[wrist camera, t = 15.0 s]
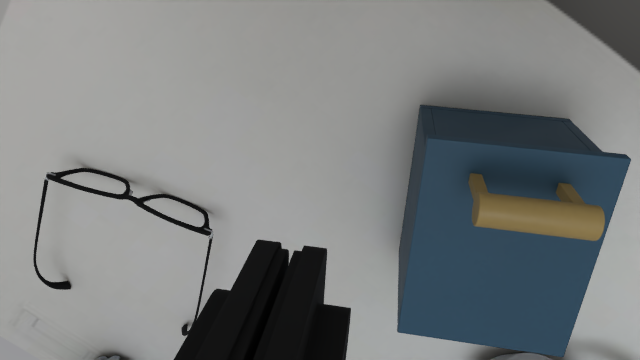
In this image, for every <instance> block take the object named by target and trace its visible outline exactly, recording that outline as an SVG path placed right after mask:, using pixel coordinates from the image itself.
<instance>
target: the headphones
mask: <svg viewBox="0 0 640 360" xmlns="http://www.w3.org/2000/svg"><path fill="white" fill-rule="evenodd" d="M490 360H552V359H550V358H548V357H546V356H543V355H539V354H535V353H520V354H519V353H515V354H506V355H500V356H498V357H495V358H492V359H490Z"/></svg>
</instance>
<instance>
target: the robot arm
mask: <svg viewBox="0 0 640 360" xmlns="http://www.w3.org/2000/svg"><path fill="white" fill-rule="evenodd" d="M326 260H327V249H326V248H318V247H311V246H304V247H303V249H302V251H294V253H293V255H292V258H291V260H290V263H289V251H288V250H287V249H281V243H280V242H273V241H265V240H257V241H256V243H255V245H254V247H253V249H252V251H251V253H250V254H249V256H248V258H247V260H246V262H245V264H244V266H243V268H242V270H241V272H240V274H239V275H238V277H237V279H236V281H235V283H234V285H233V287H232V289H231V291H229V290H222V289H216V290H214V292H213V293H212V294H211V296H210V298H209V299H208V301H207V303H206V305H205V306H204V308H203V310H202V312H201V313H200V315H199V317H198V318H197V320H196V322H195V324H194V325H193V327H192V329H191V331H190V332H189V334H188V336H187V338H186V339H185V341H184V343H183V345H182V346H181V348H180V350H179V351H178V353H177V355H176V357H175V358H174V360H346V352H347V343H348V334H349V324H350V314H351V308H346V307H339V306H333V305H326V304H324V289H325V275H326ZM288 265H289V266H288Z"/></svg>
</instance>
